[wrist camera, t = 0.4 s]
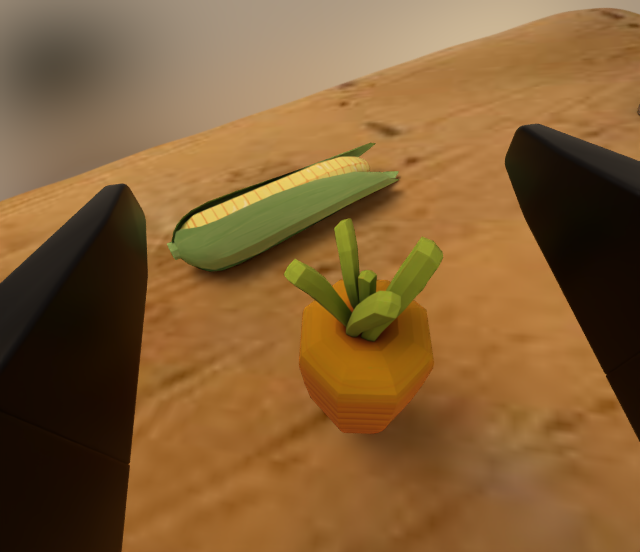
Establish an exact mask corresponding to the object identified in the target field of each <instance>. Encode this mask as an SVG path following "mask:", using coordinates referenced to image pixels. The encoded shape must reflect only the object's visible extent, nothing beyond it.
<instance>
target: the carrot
mask: <svg viewBox="0 0 640 552" xmlns="http://www.w3.org/2000/svg"><path fill="white" fill-rule="evenodd" d="M334 230H335V238H336V243H337V247H338V252H339V258H340V264H341V270H342V275H343V280H339V281H338V282H337V283H335V284H334V285H333V286H331V284H330V283H329V282H328V281H327V280H326V278H325V277H324V276H322V275H321V274H320V273H318V272H317V271H316V270H315V269H313V268H312V267H310V266H308V265H306V264H304V263H302V262H300V261H298V260H296V259H294V260H293V261H292V262H291V263H290V264H289V265H288V267H287V269H286V271H285V273H284V276H285V277H286V278H287V280H289V281H290V282H291V283H292V284H294V285H295V286H296V287H298V288H299V289H301V290H302V291H304V292H306V293H307V294H309V295H310V296H311V297H312V298H313V299H314V301H313V302H312V303H311V304H309V305H308V306H307V307H306V308H305V309H304V311H303V316H302V329H301V342H300V355H299V367H300V370H301V373H302V376H303V380H304V383H305V385H306V388H307V390H308V392H309V395H310V397H311V398H312V399H313V401H314V402H315V403H316V404H317V405H318V406H319V407H320V408H321V409H322V411H323V412H324V413H325V414H326V415H327V416H328V417H329V418H330V419H331V420H332V422H333V423H334V424H335V425H336V426H337V427H338V428H339V429H340V430H341V431H342V432H344V433H369V434H373V433H378V432H381V431H383V430H384V429H385V428H386V427H387V426H388V425H389V424H390V422H391V421H392V420H393V419H394V418H395V417H396V416H397V415H398V414H399V413H400V412H401V411H402V410H403V408H404V407H405V406H406V405H407V404H408V403H409V402H410V401H411V400H412V399H413V397H414V396H415V394H416V393H417V392H418V390H419V389H420V388H421V386H422V385H423V383H424V382H425V380H426V378H427V377H428V375H429V374H430V372H431V370H432V369H433V366H434V360H433V353H432V346H431V339H430V332H429V325H428V317H427V311H426V309H425V308H423V307H422V306H421V305H419V304H418V303H417V302H415V301H414V300H413V299H414V298H415V297H416V296H417V295H418V294H419V293H420V292H421V291H422V290H423V289H424V287H425V286H426V284H427V282H428V281H429V279H430V278H431V276H432V275H433V274H434V272H435V271H436V270H437V268H438V267H439V265H440V263H441V261H442V259H443V253H442V251H441V250H440V248H439V247H438V246H437V245H436V244H435V242H434V241H432V240H429V239H427V238H424V237H421V238H420V240H419V241H418V243H417V244H416V246H415V247H414V249H413V250H412V252H411V253H410V254H409V256H408V257H407V258H406V260H405V261H404V262H403V264H402V265H401V267H400V268H399V270H398V272H397V273H396V275H395V276H394V278H393V280H392V281H391V282H390V281H388V280H377V275H376V274H375V273H374V272H373V271H372V270H364V271H362V272H361V273H360V274H359V260H358V248H357V241H356V236H355V230H354V227H353V223H352V220H351V219H345V220H342V221H341V222H340V223H339V224H338V225H337V226H336V227H335V228H334Z"/></svg>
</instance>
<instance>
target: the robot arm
mask: <svg viewBox="0 0 640 552" xmlns="http://www.w3.org/2000/svg"><path fill="white" fill-rule="evenodd" d="M505 167H506V170H507V172H508V175H509V178H510V181H511V183H512V186H513V189H514V191H515V194H516V197H517V200H518V202H519V205H520V208H521V210H522V213H523V215H524V218H525V220H526V222H527V224H528V226H529V228H530V230H531V232H532V234H533V236H534V237H535V239H536V241H537V243H538V245H539V247H540V249H541V251H542V253H543V255H544V257H545V259H546V261H547V263H548V265H549V266H550V268H551V270H552V272H553V274H554V276H555V278H556V280H557V282H558V284H559V286H560V288H561V290H562V292H563V294H564V296H565V297H566V299H567V301H568V303H569V305H570V307H571V309H572V311H573V313H574V315H575V317H576V319H577V321H578V323H579V325H580V326H581V328H582V330H583V332H584V334H585V336H586V338H587V340H588V342H589V344H590V346H591V348H592V350H593V352H594V354H595V356H596V357H597V359H598V361H599V363H600V365H601V367H602V369H603V371H604V373H605V374H607V375H606V377H607V379H608V381H609V383H610V385H611V387H612V389H613V391H614V393H615V395H616V397H617V399H618V401H619V403H620V404H621V406H622V408H623V410H624V412H625V414H626V416H627V418H628V420H629V422H630V424H631V426H632V428H633V430H634V432H635V434H636V436H637V437H638V439H639V441H640V161H637V160H635V159H632V158H629V157H627V156H624V155H621V154H619V153H616V152H613V151H611V150H608V149H605V148H602V147H600V146H597V145H594V144H592V143H589V142H586V141H584V140H581V139H578V138H576V137H573V136H570V135H568V134H565V133H562V132H560V131H557V130H554V129H552V128H549V127H546V126H544V125H541V124H530V125H523V126H521V127H519V128H518V129H517V130H516V132H515V134H514V137H513V139H512V142H511V144H510V147H509V149H508V152H507V154H506V157H505ZM147 278H148V266H147V240H146V219H145V215H144V212H143V210H142V208H141V207H140V205H139V203H138V202H137V200H136V198H135V196H134V195H133V193H132V191H131V190H130V188H129V187H128V186H127V185H125V184H115V185H108V186H105V187H104V188H103V189H102V190H101V191H100V192H99V193H97V194H96V195H95V196H94V197H93V198H92V199H91V200H90V201H89V202H88V203H87V204H86V205H85V206H83V207H82V208H81V209H80V210H79V211H78V212H77V213H76V214H75V215H74V216H73V217H72V218H70V219H69V220H68V221H67V222H66V223H65V224H64V225H63V226H62V227H61V228H60V229H59V230H58V231H56V232H55V233H54V234H53V235H52V236H51V237H50V238H49V239H48V240H47V241H46V242H45V243H43V244H42V245H41V246H40V247H39V248H38V249H37V250H36V251H35V252H34V253H33V254H32V255H30V256H29V257H28V258H27V259H26V260H25V261H24V262H23V263H22V264H21V265H20V266H19V267H18V268H16V269H15V270H14V271H13V272H12V273H11V274H10V275H9V276H8V277H7V278H6V279H5V280H3V281H2V282H1V283H0V552H121V551H122V541H123V531H124V520H125V510H126V500H127V489H128V479H129V469H130V465H129V463H130V456H131V446H132V435H133V425H134V415H135V404H136V394H137V384H138V374H139V363H140V353H141V343H142V332H143V322H144V312H145V301H146V291H147Z"/></svg>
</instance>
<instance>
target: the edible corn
mask: <svg viewBox="0 0 640 552" xmlns="http://www.w3.org/2000/svg"><path fill="white" fill-rule="evenodd" d="M373 145H375V143H369V144H366V145H363V146H361V147H358V148H355V149H353V150H350V151H347V152H345V153H342V154H339V155H337V156H334V157H331V158H329V159H326V160H323V161H321V162H318V163H315V164H312V165H310V166H307V167H304V168H301V169H299V170H296V171H293V172H290V173H288V174H285V175H282V176H279V177H276V178H273V179H270V180H267V181H264V182H261V183H258V184H256V185H253V186H250V187H247V188H244V189H241V190H238V191H235V192H232V193H230V194H227V195H224V196H222V197H219V198H216V199H214V200H211V201H208V202H206V203H205V204H203V205H201V206H199V207H197V208H195V209H193V210H191V211H190V212H189V213H188V214H186V215H185V216H184V217H183V218H182V219H181V220H180V221H179V223H178V224H177V225H176V228H175V230H174V232H173V237H172V242H170V243H167V245H168V248H169V250H170V252H171V253H172V255H173V257H174V259H175V260H177V259H179V258H181V259H182V260H184V261H185V262H187V263H188V264H190V265H192V266H194V267H197V268H199V269H202V270H206V271H209V272H211V271H220V270H224V269H227V268H230V267H232V266H235V265H237V264H240V263H242V262H244V261H246V260H248V259H250V258H252V257H254V256H256V255H258V254H260V253H262V252H264V251H266V250H268V249H270V248H271V247H273V246H275V245H277V244H279V243H281V242H282V241H284V240H286V239H288V238H290V237H292V236H294V235H295V234H297V233H299V232H301V231H303V230H305V229H306V228H308V227H310V226H312V225H314V224H316V223H317V222H319V221H321V220H323V219H325V218H326V217H328V216H330V215H332V214H334V213H336V212H337V211H339V210H341V209H343V208H345V207H346V206H348V205H350V204H352V203H353V202H355V201H357V200H359V199H361V198H363V197H365V196H367V195H369V194H371V193H373V192H375V191H377V190H380V189H382V188H384V187H386V186H388V185H390V184H392V183H394V182H396V181H398V180H399V179H395V177H396V175H397V174H398V172H399V171H394V172H383V173H382V172H370V168H369V165H368V163H367V162H366V161H365V160H364V159H361V158H358V157H359V156H360V155H362V154H363V153H365V152H366V151H367V150H368V149H370V148H371V147H372V146H373Z"/></svg>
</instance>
